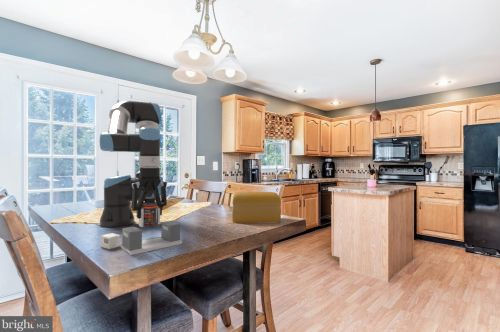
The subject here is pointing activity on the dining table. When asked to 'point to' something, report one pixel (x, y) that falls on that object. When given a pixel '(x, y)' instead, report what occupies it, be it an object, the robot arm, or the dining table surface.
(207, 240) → the dining table surface
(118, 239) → the block
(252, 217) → the bread
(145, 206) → the supplement bottle
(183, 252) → the dining table surface
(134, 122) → the robot arm
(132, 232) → the board
